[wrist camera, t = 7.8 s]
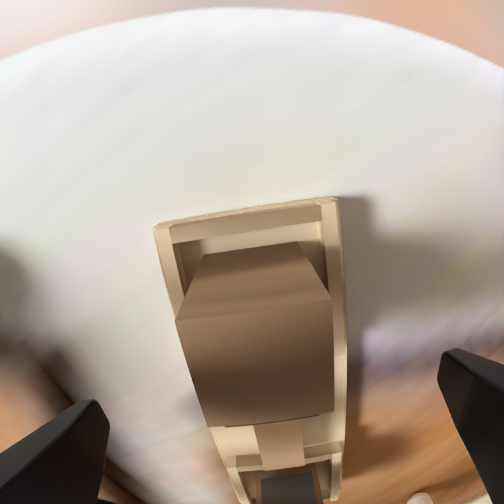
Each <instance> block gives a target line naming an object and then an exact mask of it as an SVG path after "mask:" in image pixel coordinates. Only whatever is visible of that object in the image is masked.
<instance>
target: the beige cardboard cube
mask: <svg viewBox="0 0 504 504" xmlns="http://www.w3.org/2000/svg"><path fill="white" fill-rule="evenodd" d="M175 324H176V327H177V331H178V335H179V338H180V342H181V345H182V348H183V352H184V355H185V359H186V362H187V365H188V368H189V372H190V375H191V378H192V381H193V384H194V387H195V390H196V393H197V396H198V399H199V402H200V405H201V408H202V411H203V414H204V417H205V420H206V423H207V425H208V427H222V426H225V428H227V427H239V426H250V425H260V424H268V423H276V422H284V421H291V420H297V419H303V418H309V417H315V416H319V414H324V413H329V412H334V332H333V307H332V298H331V297H330V295H329V293H328V291H327V290H326V288H325V286H324V285H323V283H322V281H321V280H320V278H319V276H318V275H317V273H316V271H315V270H314V268H313V266H312V265H311V263H310V261H309V260H308V258H307V257H306V255H305V253H304V252H303V250H302V248H301V247H300V245H299V243H298V242H297V241H294V242H287V243H280V244H273V245H266V246H259V247H252V248H245V249H238V250H231V251H224V252H218V253H211V254H204V256H203V258H202V260H201V262H200V264H199V267H198V269H197V271H196V273H195V275H194V278H193V280H192V282H191V284H190V287H189V289H188V291H187V293H186V296H185V298H184V300H183V303H182V305H181V307H180V310H179V312H178V314H177V316H176V319H175Z"/></svg>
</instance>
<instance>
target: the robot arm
mask: <svg viewBox="0 0 504 504" xmlns="http://www.w3.org/2000/svg"><path fill="white" fill-rule="evenodd" d="M437 381H438V385H439V387H440V390H441V392H442V394H443V397H444V399H445V402H446V404H447V407H448V409H449V412H450V414H451V417H452V419H453V422H454V424H455V426H456V429H457V431H458V433H459V435H460V437H461V438H462V440H463V442H464V444H465V446H466V448H467V450H468V452H469V454H470V456H471V458H472V460H473V462H474V464H475V466H476V468H477V470H478V472H479V475H480V477H481V479H482V481H483V483H484V485H485V487H486V490H487V492H488V494H489V496H490V499H491V501H492V503H493V504H504V364H501V363H498V362H495V361H492V360H490V359H487V358H484V357H481V356H478V355H476V354H473V353H470V352H467V351H465V350H462V349H459V348H453V349H450V350H447V351H445V352H443V354H442V356H441V361H440V366H439V371H438V376H437ZM109 431H110V424H109V420H108V419H107V417H106V415H105V413H104V411H103V410H102V408H101V406H100V404H99V402H98V401H97V400H94V399H82V400H80V401H79V402H77V403H76V404H74V405H73V406H71V407H70V408H68V409H67V410H65V411H64V412H62V413H61V414H59V415H58V416H56V417H55V418H53V419H52V420H50V421H49V422H47V423H46V424H44V425H43V426H41V427H40V428H38V429H37V430H35V431H34V432H32V433H31V434H29V435H28V436H26V437H25V438H23V439H22V440H20V441H19V442H17V443H16V444H14V445H13V446H11V447H9V448H8V449H6V450H5V451H3V452H2V453H0V504H110V503H105V502H100V501H97V497H98V493H99V489H100V485H101V481H102V476H103V471H104V465H105V457H106V451H107V444H108V438H109Z"/></svg>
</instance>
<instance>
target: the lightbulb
mask: <svg viewBox="0 0 504 504" xmlns="http://www.w3.org/2000/svg"><path fill="white" fill-rule="evenodd" d="M407 504H433V502H432V500H431V498H430V496H429V495H428V493H419V492H418V493H415V494H413V495H412V496H411V498H410V499H409V500H408V502H407Z"/></svg>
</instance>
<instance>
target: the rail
mask: <svg viewBox="0 0 504 504" xmlns="http://www.w3.org/2000/svg"><path fill="white" fill-rule="evenodd" d="M152 229H153V233H154V238H155V242H156V247H157V251H158V255H159V260H160V264H161V268H162V272H163V276H164V280H165V284H166V288H167V292H168V296H169V300H170V303H171V307H172V311H173V314H174V318H175V319H176V316H177V314H178V312H179V310H180V307H181V305H182V303H183V300H184V298H185V296H186V293H187V291H188V289H189V287H190V284H191V282H192V280H193V278H194V275H195V273H196V271H197V269H198V267H199V264H200V262H201V260H202V258H203V256H204V254H211V253H218V252H224V251H231V250H238V249H245V248H252V247H259V246H266V245H273V244H280V243H287V242H294V241H297V242H298V243H299V245H300V247H301V248H302V250H303V252H304V253H305V255H306V257H307V258H308V260H309V261H310V263H311V265H312V266H313V268H314V270H315V271H316V273H317V275H318V276H319V278H320V280H321V281H322V283H323V285H324V286H325V288H326V290H327V291H328V293H329V295H330V297H331V298H332V307H333V332H334V412H329V413H324V414H319V416H315V417H309V418H303V419H297V420H291V421H284V422H276V423H268V424H260V425H250V426H239V427H227V428H225V426H222V427H210V430H211V432H212V435H213V438H214V440H215V443H216V445H217V448H218V451H219V453H220V456H221V458H222V461H223V463H224V466H225V468H226V471H227V473H228V475H229V478H230V480H231V483H232V485H233V487H234V490H235V492H236V494H237V497H238V499H239V501H240V503H241V504H324V503H323V502H329V501H335V500H338V493H339V489H341V480H342V468H343V456H344V441H345V422H346V392H347V326H346V296H345V276H344V260H343V246H342V233H341V222H340V211H339V201H338V199H336V198H334V197H332V196H330V197H322V198H315V199H307V200H300V201H293V202H286V203H279V204H272V205H265V206H258V207H252V208H245V209H239V210H233V211H226V212H220V213H214V214H208V215H202V216H196V217H191V218H185V219H179V220H174V221H168V222H163V223H159V224H158V225H156V226H155V227H154V228H152Z"/></svg>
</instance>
